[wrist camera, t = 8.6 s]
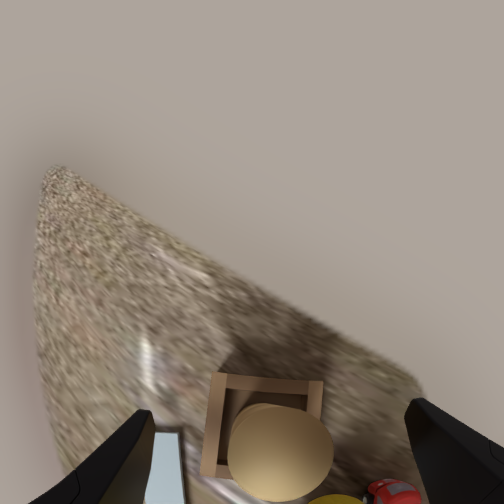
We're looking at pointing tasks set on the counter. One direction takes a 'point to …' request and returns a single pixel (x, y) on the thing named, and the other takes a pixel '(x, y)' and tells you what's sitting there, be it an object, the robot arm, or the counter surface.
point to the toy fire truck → (391, 493)
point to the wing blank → (166, 471)
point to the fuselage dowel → (278, 452)
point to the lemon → (336, 500)
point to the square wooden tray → (239, 396)
